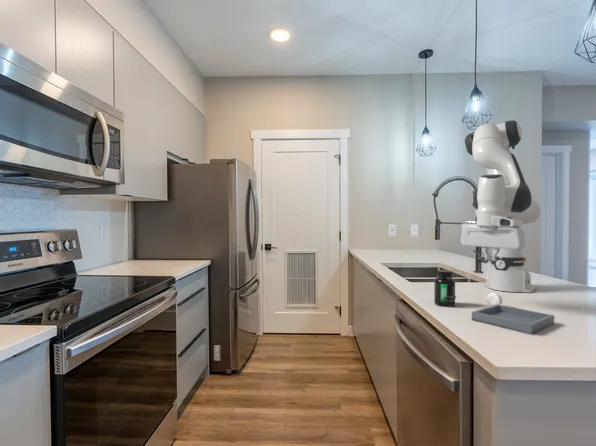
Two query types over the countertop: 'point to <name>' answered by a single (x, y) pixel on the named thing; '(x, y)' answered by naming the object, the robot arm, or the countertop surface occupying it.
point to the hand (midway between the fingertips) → (490, 260)
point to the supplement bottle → (444, 288)
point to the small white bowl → (494, 299)
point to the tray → (513, 318)
